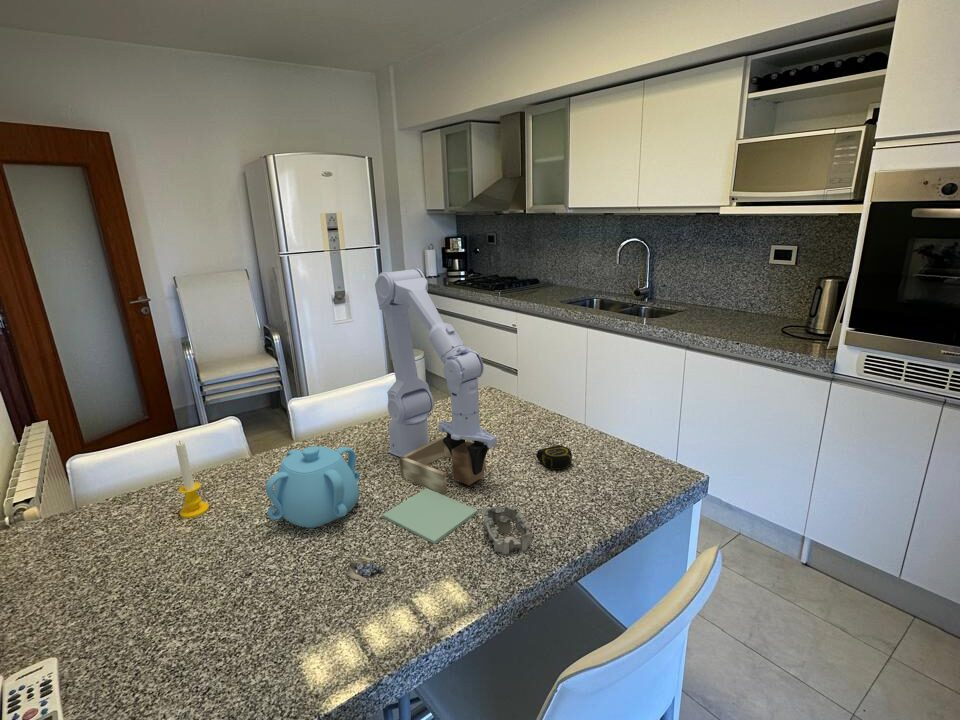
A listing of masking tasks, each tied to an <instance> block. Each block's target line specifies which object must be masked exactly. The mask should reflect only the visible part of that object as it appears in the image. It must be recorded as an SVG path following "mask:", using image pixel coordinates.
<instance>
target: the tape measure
mask: <svg viewBox="0 0 960 720" xmlns="http://www.w3.org/2000/svg"><path fill="white" fill-rule="evenodd" d="M535 457H536V458H537V461H538V462H539V463H540V464H541V463H542V464H543V465H544V466H545V467H547V468H549V469H552V470H562V469H565V468H568V467H569V466H571V465H572V461H573V460H572V459H573V454H572V450H571V449H570V448H569V447H567V446H563V445H561V444H560V445H556V444H555V445H553V446H548V447H546V448H541V449H539V450H537V452H535Z"/></svg>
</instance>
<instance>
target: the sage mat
mask: <svg viewBox="0 0 960 720" xmlns="http://www.w3.org/2000/svg"><path fill="white" fill-rule="evenodd" d="M477 514H479V510H478V509H477V508H474V507H472V506H469V505H467V504H465V503H462V502H459V501H458V500H455V499H453V498H451V497H448V496H446V495H445V494H441V493H439V492H437V491H434V490H432V489H430V488H427V487H425V488H424V489H423V490H420V491H419V492H418V493H416V494H413V495H412V496H411V497H409V498H408V499H405V500H404V501H402V502H401V503H399V504H397V505H395V506H394V507H393V508H391V509H389V510H387V511H385V512H384V513H382V515H381V517H382V518H383V519H385V520H387V521H389V522H390V523H393V524H395V525H396V526H399V527H401V528H402V529H403V530H406V531H409V532H410V533H412V534H414V535H416V536H418V537H420V538H422V539H424V540H426V541H428V542H429V543H431V544H434V545H435V544H437V543H438V542H440V541H441V540H443V539H444V538H445V537H447V536H448V535H449V534H451V533H452V532H453V531H455V530H456V529H458V528H459V527H461V526H462V525H463V524H464V523H466V522H467V521H468V520H470V519H472V518H473V517H474V516H475V515H477Z"/></svg>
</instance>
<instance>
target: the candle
mask: <svg viewBox="0 0 960 720" xmlns="http://www.w3.org/2000/svg"><path fill="white" fill-rule="evenodd" d="M175 449H176V454H177V459H178V464H179V466H180V467H179V468H180V472H181V477H182V482H183V485H182V486H180V487H179V488H178V492H179V493H181V494H184V497H185V500H184V501H183V506H184V507H183V508H182V509H181V510H180V511H179V516H180V517H181V518H183V519H192V518H196V517H200V516H202V515H204V514H205V513H206V512H208V511H209V509H210V505H209V503H208V502H206V501H203V499H202V497H201V496H199V495H198V491H197V490H198V489H199V488H200V487H201V485H202V484H201V483H200V482H194V478H193V473H192V469H191V465H190V461H189V456H188V453H187V452H188V451H187V448H186V443H185V442H184V441H182V440H178V441H177V442H176V443H175Z"/></svg>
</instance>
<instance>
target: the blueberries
mask: <svg viewBox="0 0 960 720" xmlns="http://www.w3.org/2000/svg"><path fill="white" fill-rule="evenodd" d="M368 561H369V562H368ZM374 561H378V557H377V556H375V557H374V556H371V555H366V556H365V555H362V556H361V557H359V558H357V559H355V560H353V561H350V562H349V566H348V571H347V572H345V576H346V577H348V576H349V578H350V579H353V580H356V581H357V580H359V582H366V581H367V580H368V579H372V578H375V577H376V576H378V575H383V574H384V573H385V572H386V571H387V568H386V567H384V566H383V567H381V566H380V564H379V563H374ZM359 582H358V583H359Z"/></svg>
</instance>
